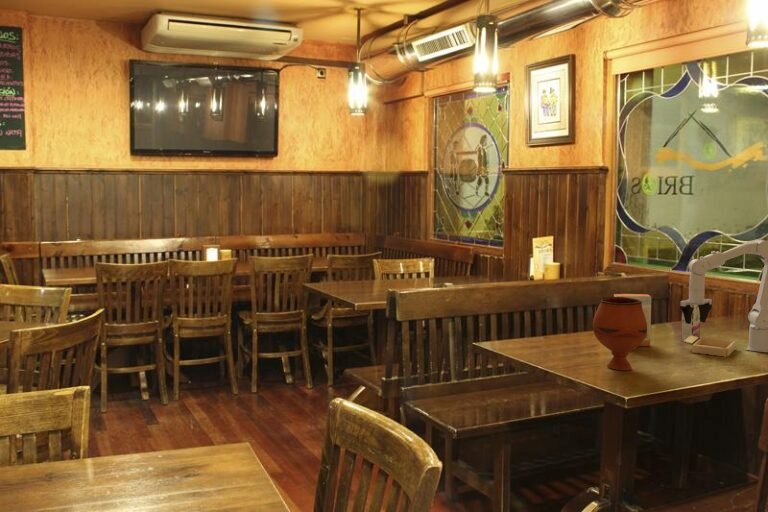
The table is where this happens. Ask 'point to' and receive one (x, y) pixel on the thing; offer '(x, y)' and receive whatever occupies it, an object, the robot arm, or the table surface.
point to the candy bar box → (691, 328)
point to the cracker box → (646, 310)
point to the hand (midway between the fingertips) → (695, 322)
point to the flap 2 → (708, 346)
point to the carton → (726, 346)
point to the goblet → (620, 328)
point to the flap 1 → (691, 339)
